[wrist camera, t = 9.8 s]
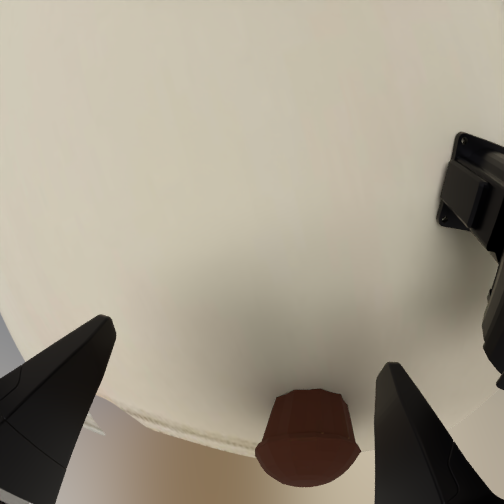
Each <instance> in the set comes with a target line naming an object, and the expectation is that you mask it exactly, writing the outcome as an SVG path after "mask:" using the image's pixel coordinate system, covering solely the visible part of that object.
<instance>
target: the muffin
mask: <svg viewBox="0 0 504 504" xmlns="http://www.w3.org/2000/svg"><path fill="white" fill-rule="evenodd" d="M360 452H361V450H360V448H359V446H358V445H357V444H356V442H355V438H354V433H353V428H352V423H351V419H350V414H349V410H348V405H347V404H346V403H345V402H344V400H343V399H342V396H341V394H336V393H332V392H328V391H325V390H323V389H311V390H293V391H291V392H289V393H288V394H285V395H282V396H279V397H276V401H275V404H274V406H273V408H272V411H271V414H270V418H269V421H268V424H267V427H266V430H265V433H264V436H263V439H262V442H260V443H259V444H258V445H257V447H256V449H255V456H256V458H257V459H258V461H259V463H260V465H261V467H262V468H263V469H264V471H265V472H266V473H267V474H268V475H270V476H271V477H273V478H274V479H276V480H277V481H279V482H281V483H282V484H286V485H290V486H295V487H313V486H319V485H323V484H326V483H329V482H331V481H333V480H335V479H336V478H338V477H339V476H341V475H342V474H343V473H344V472H345V471H346V470H348V469H349V467H350V466H351V465H352V464H353V462H354V461H355V460H356V458H357V456H358V455H359V453H360Z"/></svg>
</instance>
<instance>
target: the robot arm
mask: <svg viewBox="0 0 504 504" xmlns="http://www.w3.org/2000/svg"><path fill="white" fill-rule="evenodd" d="M463 137H464V138H465V141H464V143H462V141H461V140H462V138H463ZM441 198H442V200H441V203H440V207H439V210H438V214H437V221H438V223H439V224H440V225H441V226H445V227H450V228H456V229H461V230H467V231H471V232H472V233H473V234H474V235H475V236H476V237H477V239H478V240H479V241H480V242H481V244H482V245H483V246H484V247H485V248H486V250H487V251H489V252H490V254H491V255H492V256H493V257H494V259H495V260H496V261H497V263H498V264H499V266H498V269H497V273H496V276H495V279H494V283H493V286H492V289H490V290H489V293H488V296H487V300H488V305H487V307H486V310H485V313H484V318H483V322H482V329H483V337H484V341H485V343H484V345H483V349H484V351H485V353H486V355H487V357H488V359H489V360H490V362H491V363H492V364H493V365H494V367H495V368H496V369H497V370H498V371H499V372H500V373H501V374H502V375H501V376H500V378H499V379H498V381H497V382H496V386H497V387H498V388H500V389H502V390H504V147H503V146H500V145H498V144H495V143H493V142H490V141H487V140H485V139H482V138H479V137H476V136H473V135H471V134H468V133H465V132H459V133H458V134H457V135H456V138H455V144H454V149H453V154H452V158H451V161H450V162H449V165H448V169H447V173H446V178H445V182H444V186H443V190H442V193H441ZM444 216H446V218H445V219H444V220H442V218H443V217H444ZM115 341H116V331H115V328H114V325H113V322H112V319H111V318H110V317H109V316H105V315H98V316H96V317H94V318H93V319H91V320H90V321H88V322H86V323H85V324H83V325H82V326H80V327H79V328H77V329H75V330H74V331H72V332H71V333H69V334H68V335H66V336H65V337H63V338H62V339H60V340H58V341H57V342H55V343H54V344H52V345H51V346H49V347H48V348H46V349H45V350H43V351H42V352H40V353H39V354H37V355H36V356H34V357H33V358H31V359H30V360H28V361H27V362H25V363H24V364H23V365H20V366H19V367H18V368H16V369H14V370H13V371H11V372H10V373H8V374H7V375H5V376H4V377H2V378H0V504H28V503H29V502H30V503H33V504H55V503H56V499H57V496H58V493H59V490H60V487H61V484H62V481H63V478H64V475H65V472H66V468H67V466H68V463H69V460H70V457H71V455H72V452H73V449H74V447H75V444H76V441H77V439H78V436H79V434H80V431H81V428H82V426H83V424H84V421H85V419H86V416H87V414H88V411H89V408H90V406H91V404H92V402H93V399H94V397H95V395H96V392H97V390H98V388H99V386H100V383H101V381H102V379H103V376H104V373H105V371H106V367H107V364H108V361H109V358H110V355H111V352H112V349H113V346H114V343H115ZM374 435H375V504H504V500H503V499H501V498H499V497H497V496H496V495H495V494H494V493H492V491H491V490H490V489H489V488H488V487H487V485H486V484H485V483H484V482H483V481H482V479H481V478H480V477H479V475H478V474H477V473H476V472H475V470H474V469H473V468H472V466H471V465H470V464H469V462H468V461H467V460H466V458H465V457H464V455H463V454H462V452H461V451H460V450H459V448H458V446H457V445H456V443H455V442H453V439H452V437H451V436H450V434H449V433H448V431H447V430H446V428H445V427H444V425H443V424H442V422H441V421H440V420H439V418H438V417H437V415H436V414H435V412H434V411H433V409H432V408H431V406H430V405H429V404H428V402H427V401H426V399H425V398H424V396H423V395H422V394H421V392H420V391H419V389H418V388H417V386H416V385H415V384H414V382H413V381H412V380H411V378H410V377H409V375H408V374H407V373H406V371H405V370H404V368H403V367H402V366H401V364H399V363H398V362H387V363H386V364H385V366H384V367H383V369H382V370H381V372H380V373H379V375H378V377H377V380H376V397H375V415H374Z"/></svg>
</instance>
